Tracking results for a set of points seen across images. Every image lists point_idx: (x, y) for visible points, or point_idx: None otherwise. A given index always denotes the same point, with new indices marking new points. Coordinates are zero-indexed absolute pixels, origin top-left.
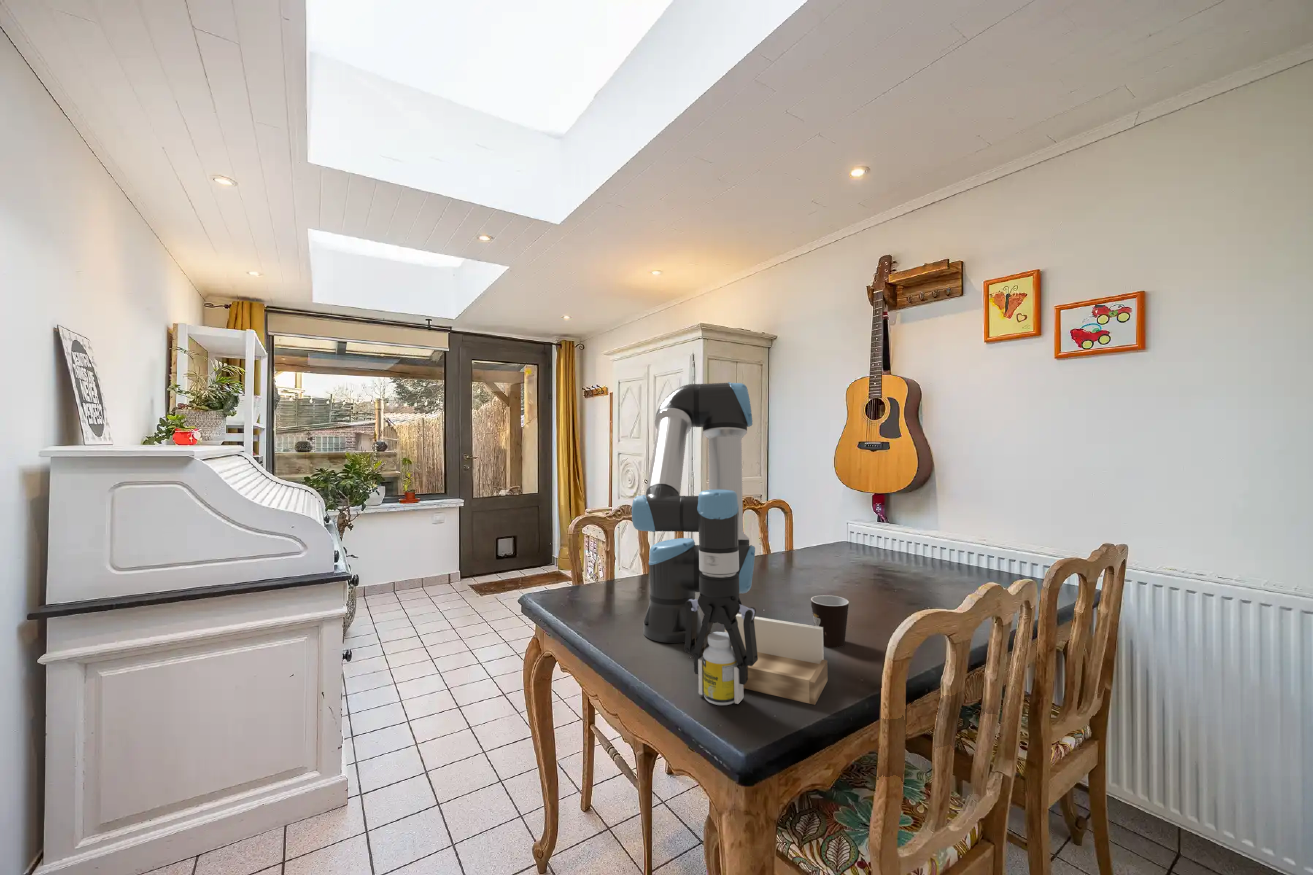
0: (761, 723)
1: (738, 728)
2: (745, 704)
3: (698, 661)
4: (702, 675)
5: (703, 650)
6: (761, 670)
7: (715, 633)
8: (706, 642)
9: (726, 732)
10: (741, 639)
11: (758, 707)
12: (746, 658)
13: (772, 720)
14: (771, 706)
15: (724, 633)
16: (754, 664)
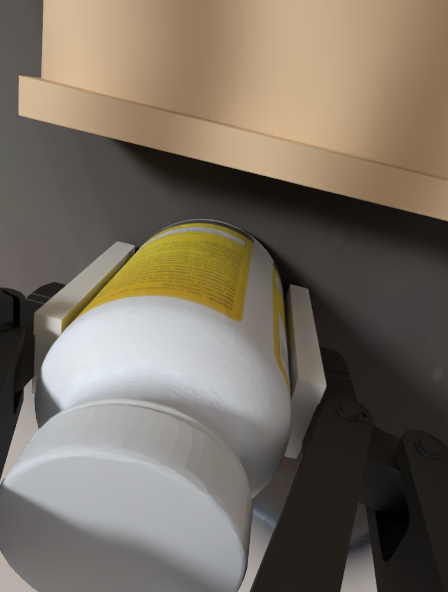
0: (379, 427)
1: (300, 462)
2: (317, 317)
3: None
4: None
5: (19, 350)
6: (437, 216)
7: (47, 502)
8: (5, 389)
9: None
10: (344, 552)
11: (373, 329)
12: (364, 491)
13: (423, 405)
14: (432, 311)
15: (140, 494)
16: (385, 4)
